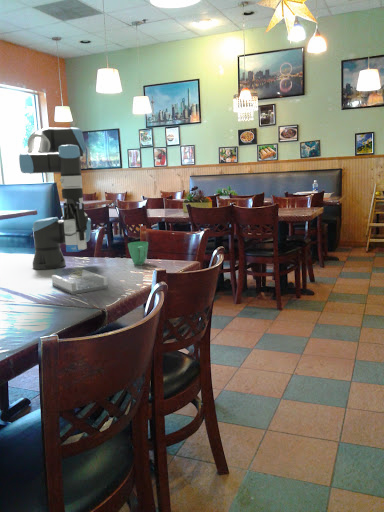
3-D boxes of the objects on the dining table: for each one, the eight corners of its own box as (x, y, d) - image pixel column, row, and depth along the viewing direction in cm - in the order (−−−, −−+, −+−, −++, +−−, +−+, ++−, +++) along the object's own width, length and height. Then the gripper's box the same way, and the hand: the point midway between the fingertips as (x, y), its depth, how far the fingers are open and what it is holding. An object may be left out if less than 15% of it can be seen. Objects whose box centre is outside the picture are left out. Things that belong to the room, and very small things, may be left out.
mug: (127, 262, 218) (126, 242, 217) (146, 261, 221) (145, 241, 220) (132, 268, 205) (131, 246, 203) (153, 266, 208) (152, 245, 206)
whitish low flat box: (52, 285, 176) (51, 275, 175) (85, 279, 184) (85, 270, 183) (72, 294, 160) (71, 283, 159) (107, 288, 168) (107, 277, 168)
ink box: (77, 252, 165) (75, 220, 163) (65, 252, 166) (62, 220, 164) (87, 248, 173) (85, 218, 171) (75, 248, 174) (73, 218, 172)
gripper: (51, 188, 172) (56, 246, 176) (73, 188, 155) (78, 252, 159) (70, 187, 176) (74, 243, 180) (93, 187, 159) (98, 249, 163)
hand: (76, 247), depth 169 cm, fingers closed on ink box, 9 cm apart
